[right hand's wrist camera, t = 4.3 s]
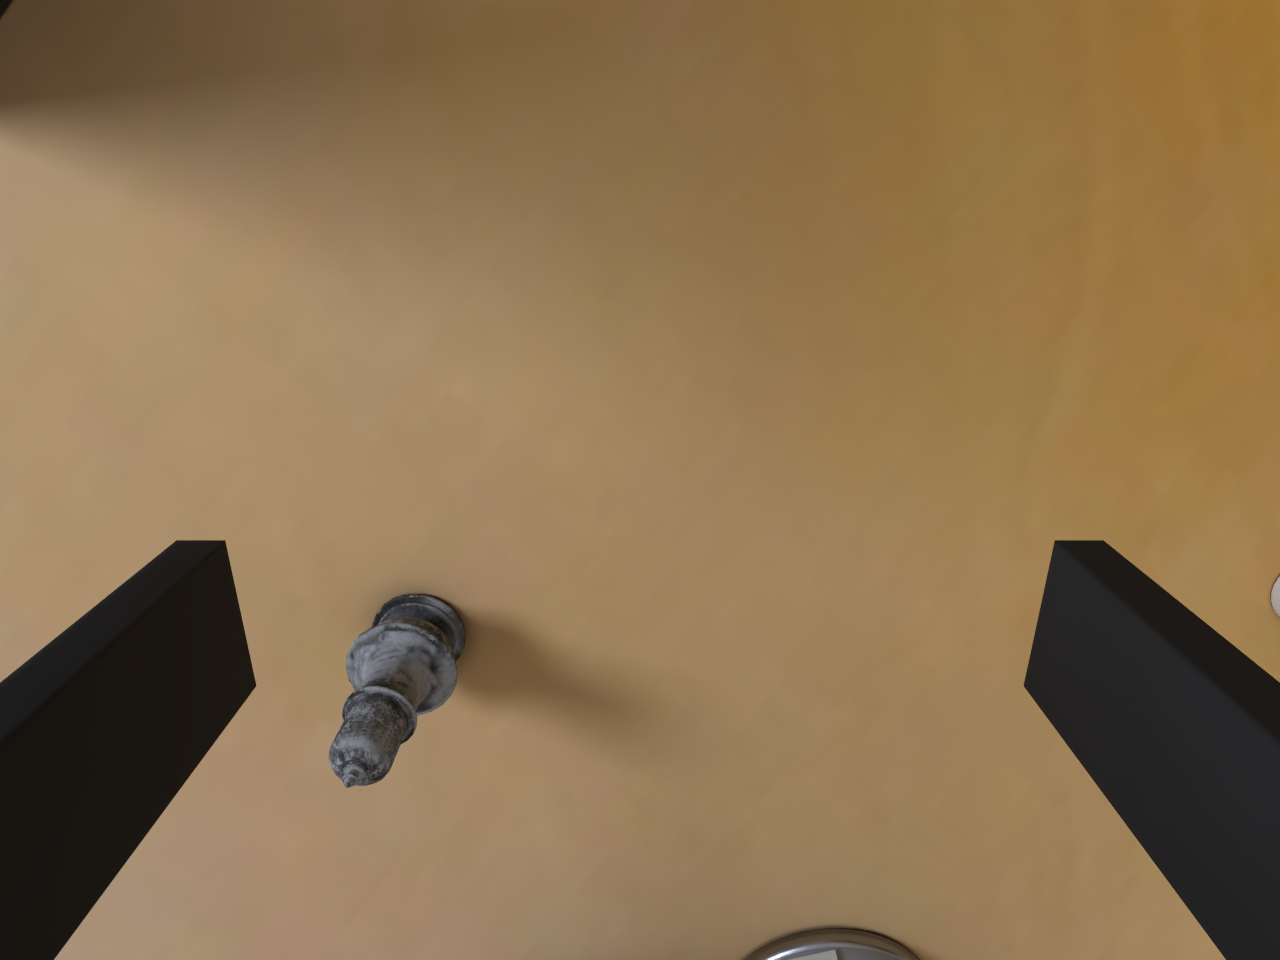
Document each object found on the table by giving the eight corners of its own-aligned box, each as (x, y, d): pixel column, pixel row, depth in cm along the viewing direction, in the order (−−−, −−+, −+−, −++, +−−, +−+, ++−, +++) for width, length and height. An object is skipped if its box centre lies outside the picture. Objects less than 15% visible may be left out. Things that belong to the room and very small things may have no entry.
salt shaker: (415, 570, 44) (338, 707, 33) (491, 637, 45) (443, 791, 34) (346, 631, 45) (250, 783, 34) (422, 694, 47) (354, 859, 36)
